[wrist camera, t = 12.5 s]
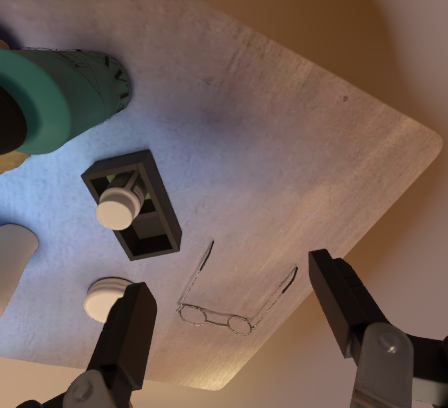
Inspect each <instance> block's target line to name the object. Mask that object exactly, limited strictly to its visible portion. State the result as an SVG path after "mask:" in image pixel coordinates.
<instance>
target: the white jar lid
mask: <svg viewBox="0 0 448 408" xmlns="http://www.w3.org/2000/svg"><path fill="white" fill-rule="evenodd" d="M130 284H132V283H130V282H128V281H126V280H122V279H116V278H109V279H103V280H100V281H98V282H96V283H95V284H93V285H92V287H91V288H90V290H89V292H88V294H87V296H86V298H85V299H84V303H83V307H84V310H85V312H86V313H87V314H88V315H89V316H90V317H91V318H93V319H94V320H96V321H99V322H101V323H105V322H106V319H107V316H108V313H109V311H110V308H111V307H112V306H113V304H114V303H115V302H116V300H117V299H118V298H121V297H123V295H124V292H125V289H126V287H127V286H128V285H130Z"/></svg>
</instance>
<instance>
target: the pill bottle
mask: <svg viewBox="0 0 448 408" xmlns="http://www.w3.org/2000/svg"><path fill="white" fill-rule="evenodd" d="M147 193H148V190H147V188H146V186H145V184H144V181H143V179H142V177H141V174H140V172H139V170H132V171H128V172H123V173H119V174H117V175H116V176H115V177H114V179H113V180H112V181H111V183H110V184H109V185H108V187H107V188H106V189H105V191H104V192H103V193H102V195H101V197H100V200H99V205H98V206H97V208H96V211H95V214H96V218H97V220H98V221H99V222H100V223H101V224H102V225H103V226H105V227H107V228H109V229H112V230H122V229H125V228H127V227H128V226H129V225H130V224H131V222H132V220H133V219H134V218H135V217H136V216H137V215H138V213H139V212H140V209H141V207H142V205H143V202H144V200H145V198H146V195H147Z"/></svg>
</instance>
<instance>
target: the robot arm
mask: <svg viewBox="0 0 448 408" xmlns="http://www.w3.org/2000/svg"><path fill="white" fill-rule="evenodd" d="M308 256H309V277H310V281H311V284H312V287H313V289H314V291H315V293H316V296H317V298H318V300H319V302H320V305H321V307H322V309H323V311H324V313H325V316H326V318H327V320H328V323H329V325H330V327H331V329H332V331H333V334H334V336H335V338H336V341H337V343H338V345H339V347H340V349H341V352H342V354H343V356H344V358H351V357H353V359H354V361H355V363H356V365H357V373H356V378H355V383H354V388H353V393H352V399H351V403H350V408H411V405H412V399H413V400H417V401H421V402H426V403H430V404H432V405H433V407H434V408H448V336H447V337H446V338H445V339H444V340H443V341H441V340H434V339H428V338H422V337H416V336H412V335H409V334H406V333H404V332H402V331H401V330H400V329H398V328H397V327H395V326H393V325H392V324H391V323H390V322H389V321H388V320H387V319H386V318H385V316H384V314H383V313H382V311H381V310H380V309H379V307H378V305H377V304H376V302H375V301H374V300H373V298H372V296H371V295H370V293H369V292H368V290H367V289H366V288H365V286H363V283H362V282H361V280H360V279H359V278H358V276H357V274H356V273H355V271H354V270H353V269H352V267H351V265H349V264H348V263H346V262H345V261H344V260H343V259H341V258H336V259H332V257H331V256H330V254H329V252H328V251H327V250H326V249H320V250H314V251H309V253H308ZM156 315H157V304H156V300H155V299H154V297H153V295H152V293H151V292H150V290H149V288H148V287H147V285H146V283H145V282H140V283H135V284H130V285H128V286H127V287H126V289H125V292H124V295H123V297H121V298H118V299H117V300H116V302H115V303H114V304H113V306H112V307H111V308H110V311H109V313H108V316H107V319H106V322H105V324H104V326H103V331H101V334H100V337H99V339H98V342H97V344H96V347H95V350H94V352H93V355H92V357H91V360H90V363H89V365H88V367H87V370H86V371H85V372H84V373H82V374H81V375H79V376H78V377H77V378H76V379H75V380H74V381H73V382H72V383H71V385H70V386H69V388H68V390H67V391H66V392H65V393H62V394H60V395H58V396H56V397H55V398H53V399H51V400H49V401H47V402H45V403H43V404H41V403H39V402H37V401H35V400H28V401H25V402H23V403H22V404H20V405H18V406H17V407H16V408H133V406H132V404H131V402H130V397H131V393H132V391H134V390H140V389H142V385H143V380H144V375H145V370H146V365H147V360H148V355H149V350H150V345H151V340H152V335H153V330H154V325H155V320H156Z"/></svg>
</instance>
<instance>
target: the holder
mask: <svg viewBox="0 0 448 408" xmlns="http://www.w3.org/2000/svg"><path fill="white" fill-rule="evenodd" d="M132 170H139V172H140V174H141V177H142V179H143V181H144V184H145V186H146V188H147V190H148V193H147V195H146V198H145V200H144V202H143V205H142V207H141V209H140V212H139V213H138V215H137V216H136V217H135V218H134V219H133V220H132V222H131V224H130V225H129V226H128V227H127V228H125V229H122V230H113V232H114V234H115V236H116V237H117V239H118V241H119V242H120V244H121V246H122V247H123V249H124V251H125V253H126V254H127V256H128V258H129V259H130V261H134V260H139V259H144V258H149V257H154V256H159V255H164V254H169V253H174V252H179V251H180V244H181V237H182V231H181V228H180V226H179V223H178V221H177V218H176V215H175V213H174V210H173V208H172V205H171V203H170V200H169V197H168V195H167V192H166V190H165V187H164V185H163V182H162V180H161V177H160V174H159V172H158V169H157V167H156V164H155V162H154V159H153V156H152V154H151V151H150V149H149V150H144V151H140V152H136V153H131V154H127V155H122V156H118V157H114V158H109V159H105V160H100V161H96V162H95V163H94V164H92V165H91V166H90V167H89V168H88V169H87V170H86V171H85V172H84V173H83V174H82V175H81V178H82V179H83V181H84V183H85V184H86V186H87V188H88V190H89V191H90V193H91V195H92V196H93V198H94V200H95V202H96V203H97V205H99V200H100V197H101V195H102V193H103V192H104V191H105V189H106V188H107V187H108V185H109V184H110V183H111V181H112V180H113V179H114V177H115V176H116V175H117V174H119V173H123V172H128V171H132Z"/></svg>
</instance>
